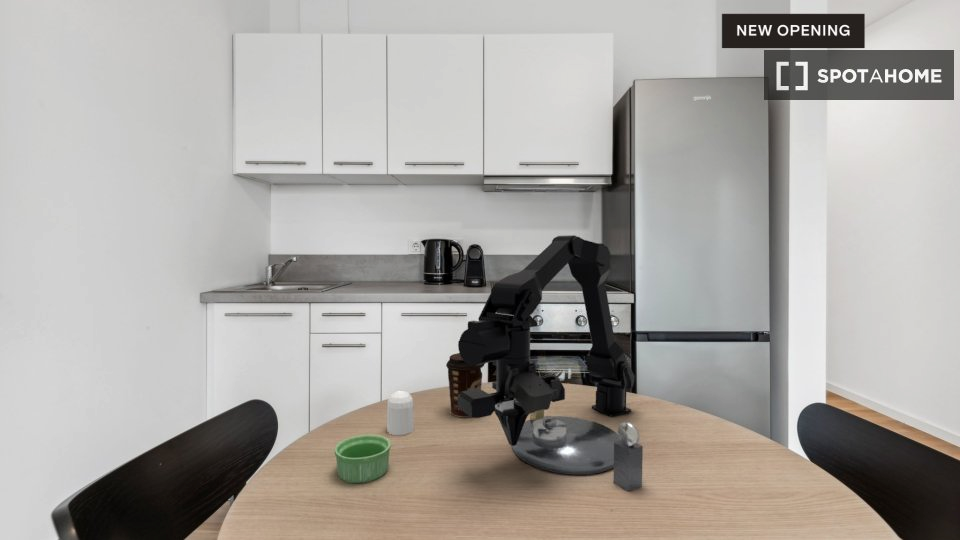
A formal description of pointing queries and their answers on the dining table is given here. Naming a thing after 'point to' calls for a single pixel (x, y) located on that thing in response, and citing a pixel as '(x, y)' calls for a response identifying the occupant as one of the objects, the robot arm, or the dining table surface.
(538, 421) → the cover
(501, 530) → the dining table surface
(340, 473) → the ramekin
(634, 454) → the indicator stand
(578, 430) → the turntable
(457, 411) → the coffee cup
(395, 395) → the salt shaker
